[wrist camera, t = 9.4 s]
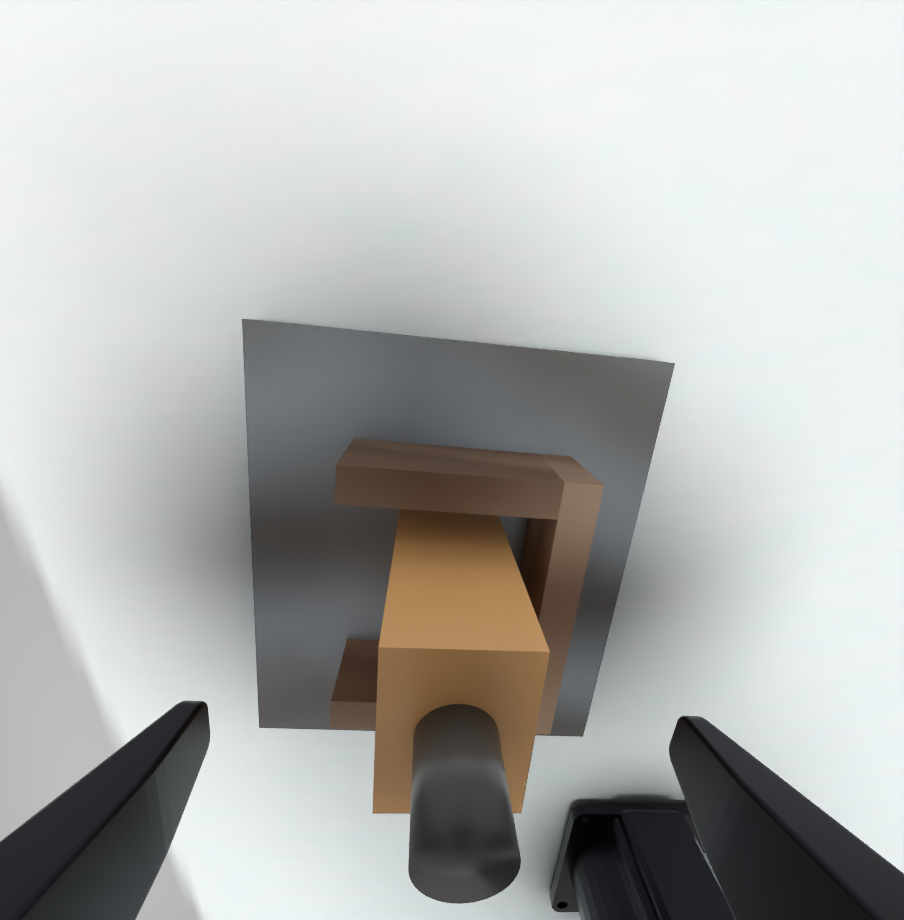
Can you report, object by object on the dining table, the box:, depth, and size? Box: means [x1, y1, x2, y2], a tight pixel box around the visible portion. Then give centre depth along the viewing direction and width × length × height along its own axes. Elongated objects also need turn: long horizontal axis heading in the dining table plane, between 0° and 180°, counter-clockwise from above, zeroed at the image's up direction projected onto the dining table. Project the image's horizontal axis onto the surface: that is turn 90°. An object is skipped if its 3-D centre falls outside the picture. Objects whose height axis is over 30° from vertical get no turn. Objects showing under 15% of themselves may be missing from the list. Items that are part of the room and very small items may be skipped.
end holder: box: [242, 319, 675, 736], centre depth 13 cm, size 14×12×4 cm
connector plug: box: [373, 509, 550, 903], centre depth 10 cm, size 4×3×8 cm
